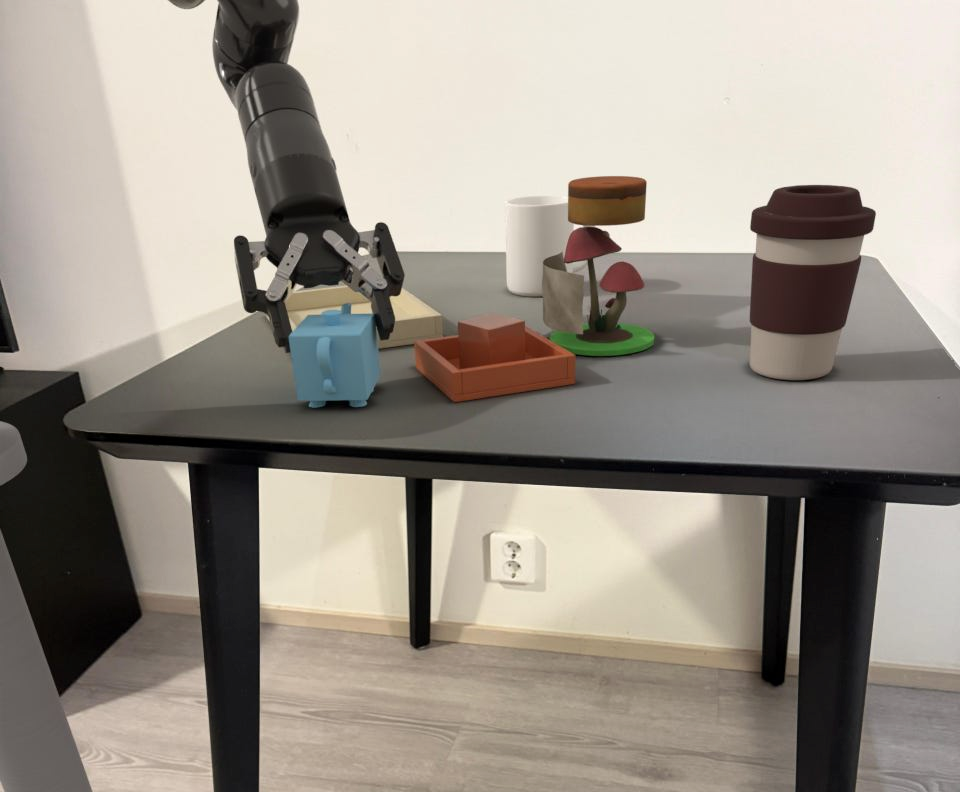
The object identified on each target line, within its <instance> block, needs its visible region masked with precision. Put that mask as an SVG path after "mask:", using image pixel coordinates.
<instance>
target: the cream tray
mask: <svg viewBox="0 0 960 792" xmlns="http://www.w3.org/2000/svg"><path fill="white" fill-rule="evenodd" d="M389 298H390V301H391V305H392V309H393V312H394V315H395V325H394V329H393V333H390V337H389V340H382V341H381V340H380V338H379V334H378V330H377V327H376V331H377V341H378V350H381V349H388V348H395V347H401V346H409V345H414V341H418V340H425V339H432V338H440V337H444V330H443V315H442V314H441V313H439V312H438V311H436V310H435V309H434V308H432V307H431V306H429V305H428V304H426V303H425V302H424V301H422V300H421V299H419V298H418V297H416V296H415V295H413V294H412V293H410V292H409V291H408V290H406V289H405V288H404V287H402V289H401V293H400V295H399V296H391V297H389ZM345 303H351V314H370V313H372V309H371V301H370V300H368V299H367V298H366V297H365V296H364V295H362V294H361V293H360V292H354V291H353V290H352V289H350V288H349V287H348V286H347V285H340V286H339V285H338V286H329V287H322V288H312V289H305V290H296V291H295V290H294V291H293V293H292V294H291V296H290V298H289V300H287V301H286V302H285V305H286V309H287V313H288V317H289V320H290V324H291V328H292V332H293V331H294V329H295V328H296V327H297V326H298V325H299V324H300V323H301V322H302V321H303V320H304V319H305V318H306V317H307V316H308V315H322V312H324V311H326V310H340V311H341V307H342V305H343V304H345ZM265 317H266V319H267V320H268V321H269V322H270V320H269V317H268V316H267V314H265Z"/></svg>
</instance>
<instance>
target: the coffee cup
mask: <svg viewBox="0 0 960 792" xmlns="http://www.w3.org/2000/svg"><path fill="white" fill-rule="evenodd" d="M876 215H877V213H876V210H875V209H873V208H871V207H869V206H863V201H862V197H861V193H860V191H859V189H857V188H855V187H852V186H845V185H832V184H800V185H790V186H783V187H779V188H776V189H774V190H773V192H772V194H771V196H770V197H769V199H768V202H767V204H766V205H762V206H759V207H755V208H754V209H753V210H752V211H751V217H750V225H749V229H750V231H751V232H752V233H754V234H756V239H755V252H754V254H753V255H752V261H751V262H752V263H751V281H750V282H751V283H750V302H749V323H750V324H751V327H750V329H751V330H750V349H749V367H750V369H751V370H752V371H753V372H754V373H755V374H758V375H760V376H763V377H767V378H771V379H776V380H783V381H807V380H816V379H820V378H822V377H825V376H827V375H828V374H829V373H830V372H831V371H832V369H833V367H834V363H835V359H836V355H837V350H838V346H839V343H840V338H841V335H842V334H841V333H842V329H843V328H844V327H845V326H846V325H847V324H846V323H847V319H848V316H849V313H850V312H849V311H850V308H851V304H852V299H853V296H854V291H855V288H856V283H857V279H858V276H859V275H858V274H859V271H860V266H861V263H862V256H861V251H862V248H863V242H864V238H865V236H866V235H868V234H870V233H872V232H873V231H874V228H875V227H874V226H875V222H876V221H875V220H876Z"/></svg>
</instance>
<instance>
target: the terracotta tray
mask: <svg viewBox="0 0 960 792" xmlns="http://www.w3.org/2000/svg"><path fill="white" fill-rule="evenodd" d="M413 346H414V359H415V368H416V369H417V370H418V371H419V372H420V373H421V374H422V375H423V376H425V377H426V378H427V379H428V381H430V382H431V383H432V384H433V385H434V386H435V387H437V388H438V389H439V390H440V391H441V392H442V393H443V394H444V395H446V396H447V398H449V399H450V400H451V401H452V402H453V403H459V402H467V401H472V400H478V399H480V400H481V399H484V398H485V399H486V398H492V397H498V396H506V395H513V394H518V393H525V392H531V391H537V390H544V389H550V388H556V387H557V388H558V387H564V386H570V385H575V384H576V362H577V361H576V359H577V358H576V357H577V356H576V355H577V354H573V353H571V352H569V351H567V350H566V349H564V348H562V347H561V346H559V345H557V344H555V343H554V342H552V341H550V338H549V339H548V338H547V337H545V336H544V335H542V334H540V333H538V332H536V331H535V330H533V329H531V328H530V327H528V326H526V325H525V360H521V361H514V362H507V363H500V364H493V365H486V366H479V367H473V368H466V369H460V362H459V342H458V334H456V335H455V334H454V335H448V336H443V337H440V338H432V339H425V340H418V341H414V344H413Z"/></svg>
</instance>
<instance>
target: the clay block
mask: <svg viewBox="0 0 960 792" xmlns="http://www.w3.org/2000/svg"><path fill="white" fill-rule="evenodd" d="M525 326H526V320H524V319H521V318H515V317H512V316H507V315H503V314H499V313H495V312H492V313H488V314H484V315H483V314H482V315H479V316H475V317H471V318H467V319H463V320H459V321H457V335H458V342H459V362H460V369H466V368H473V367H479V366H486V365H493V364H500V363H507V362H514V361H521V360H525Z"/></svg>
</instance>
